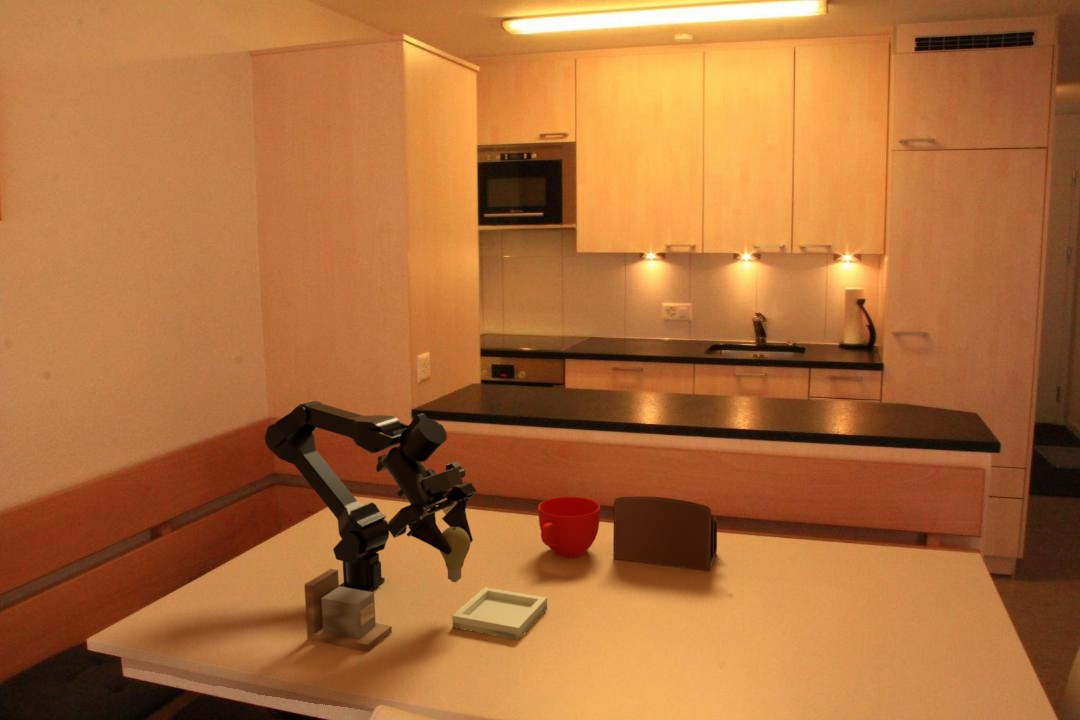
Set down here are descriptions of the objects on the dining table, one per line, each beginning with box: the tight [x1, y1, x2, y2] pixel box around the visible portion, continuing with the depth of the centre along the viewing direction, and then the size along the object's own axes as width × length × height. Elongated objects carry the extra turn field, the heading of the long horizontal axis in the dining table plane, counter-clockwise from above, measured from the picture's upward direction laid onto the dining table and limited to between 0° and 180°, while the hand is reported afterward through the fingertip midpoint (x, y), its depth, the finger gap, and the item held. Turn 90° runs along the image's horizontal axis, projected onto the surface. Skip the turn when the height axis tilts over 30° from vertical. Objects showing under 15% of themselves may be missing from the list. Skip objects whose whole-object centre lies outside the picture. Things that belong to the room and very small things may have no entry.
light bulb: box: [439, 526, 471, 583], centre depth 148 cm, size 6×6×10 cm
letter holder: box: [612, 495, 718, 572], centre depth 173 cm, size 10×20×14 cm, turn 70°
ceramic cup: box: [537, 496, 601, 559], centre depth 175 cm, size 13×17×10 cm
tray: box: [451, 587, 548, 641], centre depth 147 cm, size 12×12×2 cm
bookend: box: [303, 568, 393, 653], centre depth 141 cm, size 12×7×10 cm, turn 67°
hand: (460, 547), depth 147 cm, fingers closed on light bulb, 6 cm apart
